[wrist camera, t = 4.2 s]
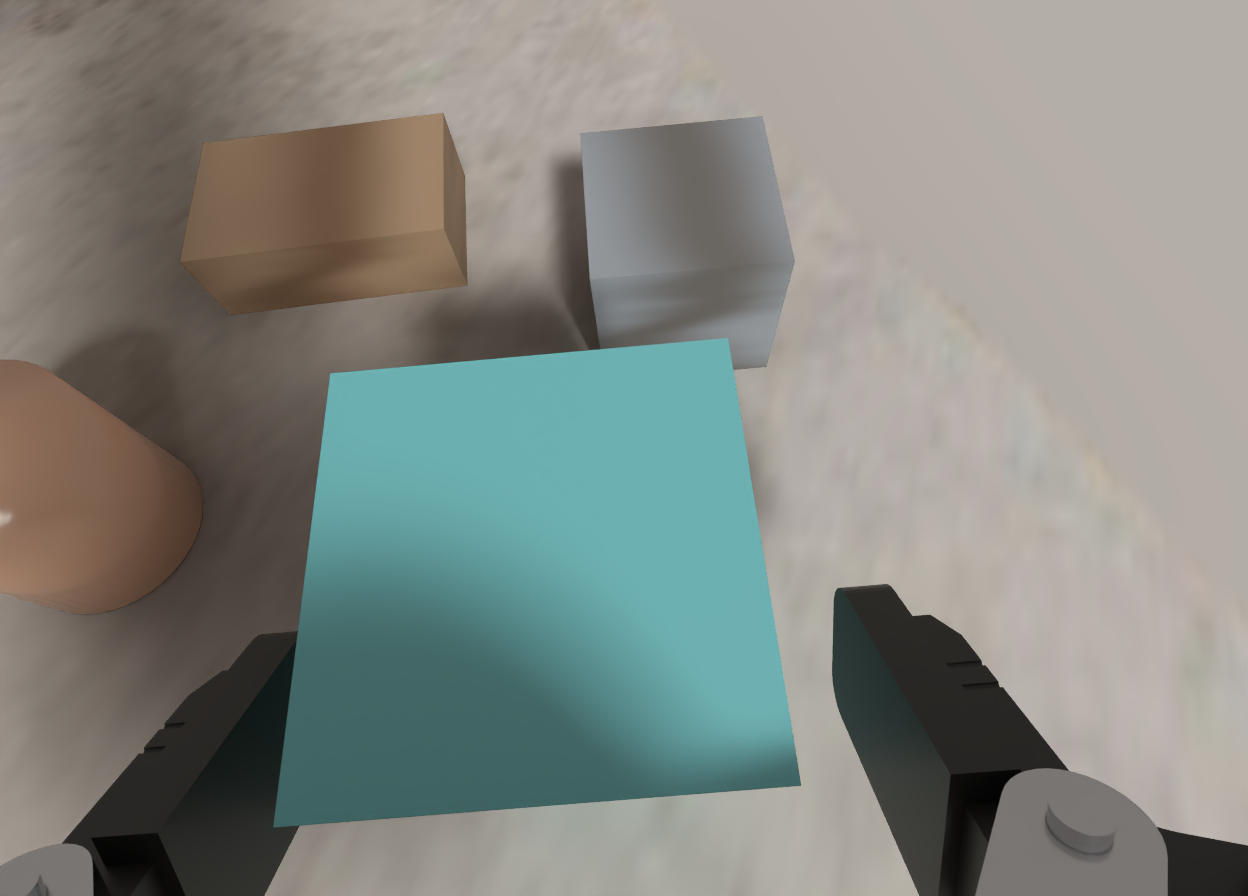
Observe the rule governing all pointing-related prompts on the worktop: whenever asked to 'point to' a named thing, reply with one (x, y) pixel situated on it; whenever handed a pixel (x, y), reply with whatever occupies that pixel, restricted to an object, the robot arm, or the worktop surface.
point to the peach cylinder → (84, 499)
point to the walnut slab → (328, 215)
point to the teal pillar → (533, 591)
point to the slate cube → (686, 236)
